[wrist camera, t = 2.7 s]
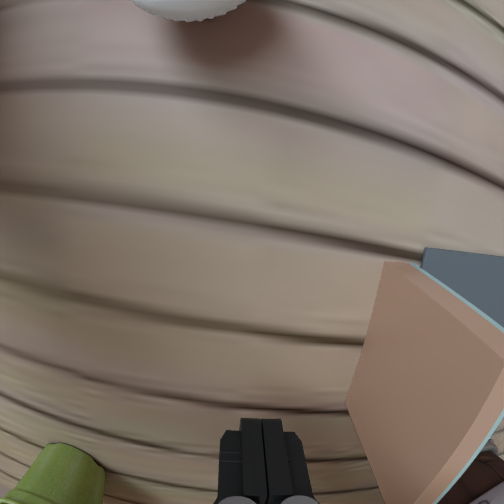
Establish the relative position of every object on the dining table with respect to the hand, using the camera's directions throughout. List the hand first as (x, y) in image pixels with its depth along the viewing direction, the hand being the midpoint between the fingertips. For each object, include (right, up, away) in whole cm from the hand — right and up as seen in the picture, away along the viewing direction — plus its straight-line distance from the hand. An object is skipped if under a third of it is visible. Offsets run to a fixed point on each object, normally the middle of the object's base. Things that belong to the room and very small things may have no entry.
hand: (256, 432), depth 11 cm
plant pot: (-16, -12, +10) cm, 22 cm away
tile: (+8, +2, +7) cm, 10 cm away
